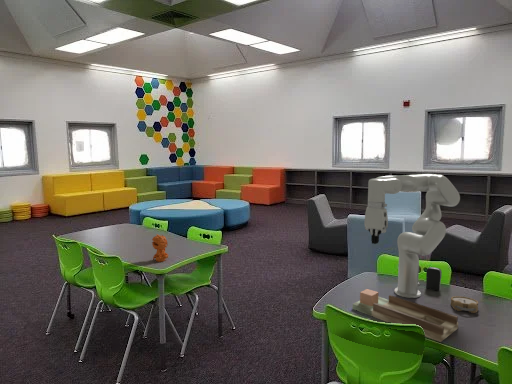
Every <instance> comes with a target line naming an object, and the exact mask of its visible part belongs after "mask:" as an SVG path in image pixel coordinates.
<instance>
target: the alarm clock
mask: <svg viewBox="0 0 512 384" xmlns="http://www.w3.org/2000/svg"><path fill="white" fill-rule="evenodd" d="M450 306H451V307H452V308H453V309H454V310H455V311H456V310H457V311H458V312H461V311H465V312H469V313H470V312H471V313H470V314H476V313H477V312H478V311H479V301H478V300H476V299H474V298H470V297H467V296H460V295H456V296H455V295H454V296H451V298H450ZM457 311H456V312H457Z"/></svg>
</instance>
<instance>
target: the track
mask: <svg viewBox="0 0 512 384" xmlns="http://www.w3.org/2000/svg"><path fill="white" fill-rule="evenodd" d="M352 310H354V311H356V310H357V311H356V312H360V313H362V314H366V315H368V316H370V317H372V316H373V317H372V318H375V319H378V320H381V321H384V322H386V323H388V322H392V323H402V324H416V325H419V326H421V327H422V328H423V330H424V332H425V336H424V337H425V338H428V339H432V340H434V341H436V342H440V343H442V342H443V341H444V340H445V339H447V338H448V337H449V336H450V335H452V334H453V333H454V332H455V331H457V330H458V329H459V321H458V319H459V317H458V316H457V315H456V314H451V313H448V312H445V311H442V310H438V309H436V308H433V307H429V306H426V305H423V304H420V303H416V302H413V301H410V300H408V299H407V300H406V299H404V298H401V297H397V296H394V295H391V294H390V295H388V299H387V298H385V297H381V296H378V303H377V304H376V303H374V304H373V306H369V305H366V304H363V303H360V300H358V301H355V302H353V303H352Z"/></svg>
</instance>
